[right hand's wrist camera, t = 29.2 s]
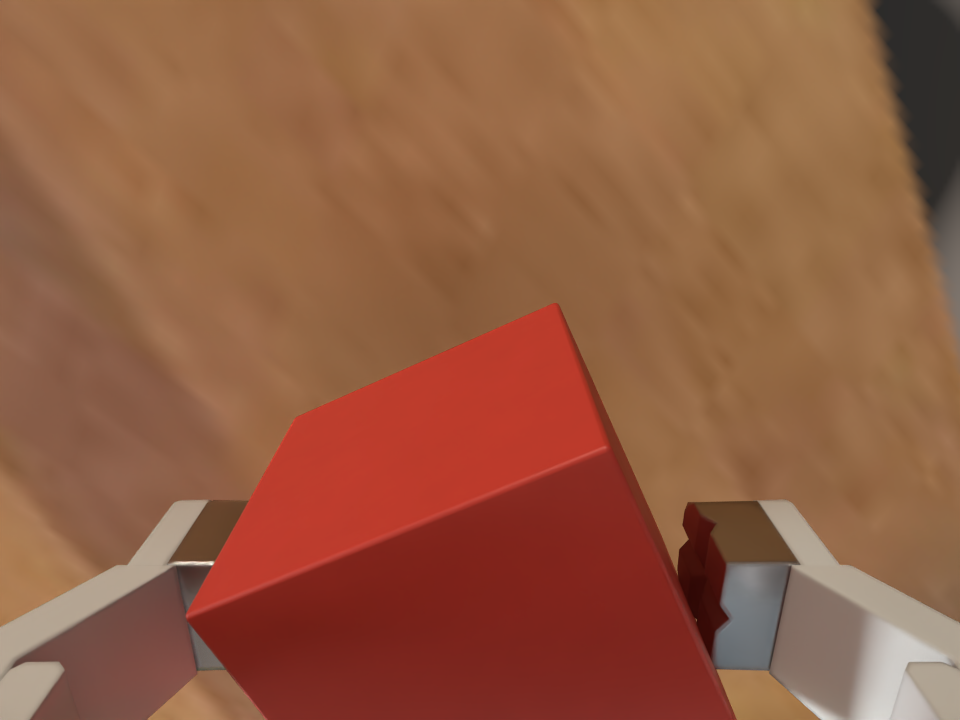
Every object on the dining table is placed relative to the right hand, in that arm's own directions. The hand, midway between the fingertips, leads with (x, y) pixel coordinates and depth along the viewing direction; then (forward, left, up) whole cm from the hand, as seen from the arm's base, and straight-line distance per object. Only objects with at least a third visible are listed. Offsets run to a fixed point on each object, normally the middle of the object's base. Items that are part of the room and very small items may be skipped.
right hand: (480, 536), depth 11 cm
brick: (0, 0, -2) cm, 2 cm away
